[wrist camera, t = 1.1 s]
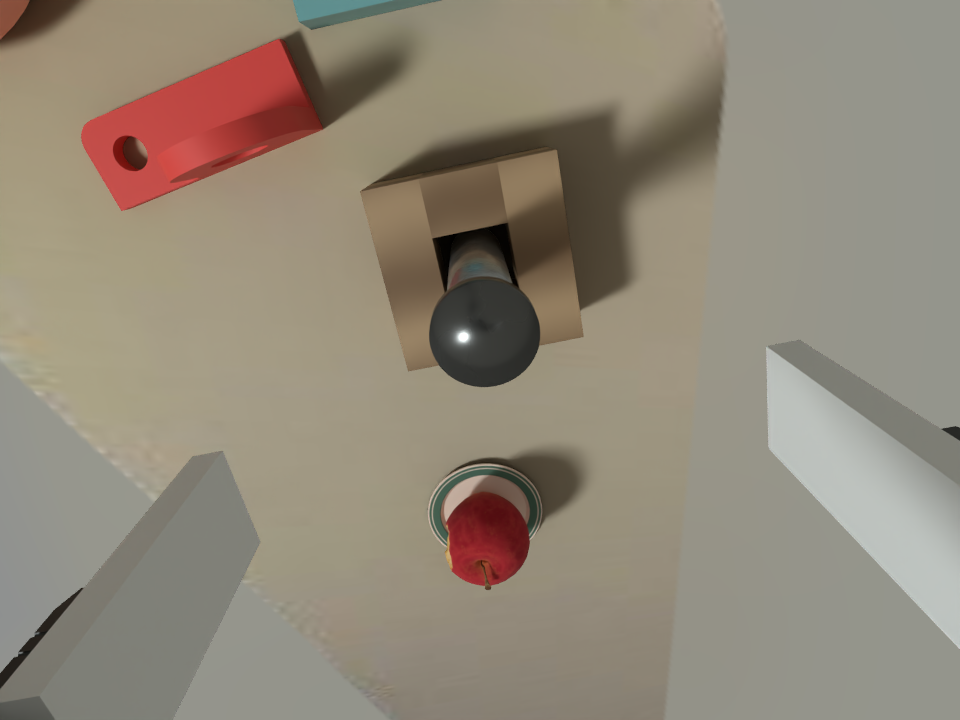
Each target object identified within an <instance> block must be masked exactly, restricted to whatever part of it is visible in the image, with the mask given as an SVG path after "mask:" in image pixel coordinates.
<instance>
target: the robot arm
mask: <svg viewBox="0 0 960 720" xmlns="http://www.w3.org/2000/svg"><path fill="white" fill-rule="evenodd" d="M766 354H767V355H766V356H767V401H768V443H769V444H768V445H769V449H770V450H771V451H772V452H773V453H774V454H775V456H776V457H777V458H778V459H779V460H780V461H781V462H782V463H783V464H784V465H785V466H786V467H787V468H788V469H789V470H790V471H791V472H792V473H793V474H794V475H795V477H796V478H797V479H798V480H799V481H801V483H802V484H803V485H804V486H805V487H806V488H807V489H808V490H809V491H810V492H811V493H812V494H813V495H814V497H815V498H816V499H817V500H818V501H819V502H820V503H821V504H822V505H823V506H824V507H825V508H826V509H827V510H828V511H829V512H830V513H831V514H832V515H833V517H834V518H835V519H836V520H837V521H838V522H839V523H840V524H841V525H842V526H843V527H844V528H845V529H846V530H847V531H848V532H849V533H850V534H851V535H852V536H853V538H854V539H855V540H856V541H857V542H858V543H859V544H860V545H861V546H862V547H863V548H864V549H865V550H866V551H867V552H868V553H869V554H870V555H871V556H872V557H873V559H874V560H875V561H876V562H877V563H878V564H879V565H880V566H881V567H882V568H883V569H884V570H885V571H886V572H887V573H888V574H889V575H890V576H891V577H892V578H893V580H894V581H895V582H896V583H897V584H898V585H899V586H900V587H901V588H902V589H903V590H904V591H905V592H906V593H907V594H908V595H909V596H910V597H911V598H912V600H913V601H914V602H915V603H916V604H917V605H918V606H919V607H920V608H921V609H922V610H923V611H924V612H925V613H926V614H927V615H928V616H929V617H930V618H931V620H932V621H933V622H935V624H936V625H937V626H938V627H939V628H940V629H941V630H942V631H943V632H944V633H945V634H946V635H947V636H948V637H949V638H950V639H951V641H952V642H953V643H954V644H955V645H956V646H957V647H958V648H959V649H960V428H959V427H956V426H955V427H949V428H944V429H940V428H939V427H937V426H935V425H934V424H932V423H931V422H929V421H927V420H926V419H924V418H923V417H921V416H920V415H918V414H916V413H915V412H913V411H912V410H910V409H908V408H907V407H905V406H903V405H902V404H900V403H899V402H897V401H896V400H894V399H893V398H891V397H889V396H888V395H886V394H884V393H883V392H881V391H880V390H878V389H877V388H875V387H874V386H872V385H870V384H869V383H867V382H866V381H864V380H862V379H861V378H859V377H857V376H856V375H854V374H853V373H851V372H850V371H848V370H847V369H845V368H843V367H842V366H840V365H839V364H837V363H835V362H834V361H832V360H831V359H829V358H828V357H826V356H824V355H823V354H821V353H820V352H818V351H816V350H815V349H813V348H812V347H810V346H809V345H807V344H805V343H804V342H802V341H801V340H797V341H791V342H786V343H781V344H775V345H770V346H766ZM259 544H260V540H259V537H258V535H257V532H256V530H255V528H254V525H253V523H252V520H251V518H250V516H249V513H248V511H247V508H246V506H245V504H244V501H243V499H242V496H241V494H240V491H239V489H238V487H237V484H236V482H235V479H234V477H233V475H232V472H231V470H230V467H229V465H228V463H227V460H226V458H225V455H224V453H223V451H219V452H214V453H209V454H204V455H199V456H193V457H192V458H191V459H190V460H189V461H188V463H187V464H186V465H185V466H184V467H183V469H182V470H181V471H180V472H179V474H178V475H177V476H176V477H175V478H174V480H173V481H172V482H171V483H170V484H169V486H168V487H167V488H166V489H165V490H164V492H163V493H162V494H161V495H160V497H159V498H158V499H157V500H156V501H155V503H154V504H153V505H152V506H151V507H150V509H149V510H148V511H147V512H146V513H145V515H144V516H143V517H142V518H141V520H140V521H139V522H138V523H137V524H136V526H135V527H134V528H133V529H132V530H131V532H130V533H129V534H128V535H127V536H126V538H125V539H124V540H123V541H122V542H121V544H120V545H119V546H118V547H117V549H116V550H115V551H114V552H113V554H112V555H111V556H110V557H109V558H108V559H107V561H106V562H105V563H104V564H103V566H102V567H101V568H100V569H99V570H98V572H97V573H96V574H95V575H94V576H93V578H92V579H91V580H90V581H89V582H88V584H87V585H86V586H85V587H84V588H81V589H80V590H78V591H77V592H76V593H75V594H73V595H72V596H71V597H70V598H68V599H67V600H66V601H65V602H63V603H62V604H61V605H60V606H59V607H57V608H56V609H55V610H54V611H53V612H52V613H51V614H50V616H49V617H48V618H47V619H46V620H45V621H44V623H43V624H42V625H41V626H40V627H39V629H38V630H37V631H36V632H35V637H32V638H30V639H29V640H28V642H27V643H26V644H25V645H24V646H23V647H22V649H21V650H20V651H19V652H18V657H14V658H13V659H12V660H11V662H10V663H9V664H8V665H7V666H6V667H5V668H4V670H3V671H2V672H1V673H0V720H173V718H174V716H175V714H176V712H177V710H178V708H179V706H180V704H181V701H182V700H183V698H184V696H185V694H186V692H187V690H188V688H189V686H190V683H191V682H192V680H193V677H194V675H195V673H196V671H197V669H198V667H199V665H200V663H201V661H202V659H203V657H204V655H205V653H206V651H207V649H208V647H209V645H210V643H211V641H212V639H213V637H214V635H215V633H216V631H217V629H218V626H219V625H220V623H221V621H222V619H223V616H224V615H225V612H226V610H227V608H228V606H229V604H230V602H231V600H232V598H233V596H234V594H235V592H236V590H237V588H238V586H239V584H240V582H241V580H242V578H243V576H244V574H245V572H246V570H247V568H248V566H249V564H250V562H251V560H252V558H253V556H254V554H255V552H256V550H257V548H258V546H259Z"/></svg>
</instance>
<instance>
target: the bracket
mask: <svg viewBox="0 0 960 720" xmlns="http://www.w3.org/2000/svg"><path fill="white" fill-rule="evenodd" d="M320 130H323V127H322V125H321V123H320V120H319V118H318V116H317V114H316V111H315V109H314V107H313V104H312V102H311V100H310V98H309V95H308V93H307V91H306V89H305V86H304V84H303V82H302V79H301V77H300V75H299V73H298V70H297V68H296V66H295V64H294V61H293V59H292V57H291V54H290V52H289V50H288V48H287V45H286V43H285V41H283V40H281V39H277V40H275V41H273V42H270V43H268V44H266V45H263V46H261V47H259V48H256V49H254V50H252V51H250V52H247V53H245V54H243V55H240V56H238V57H236V58H233V59H231V60H229V61H226V62H224V63H222V64H220V65H217V66H215V67H213V68H210V69H208V70H206V71H203V72H201V73H199V74H196V75H194V76H192V77H190V78H187V79H185V80H183V81H180V82H178V83H176V84H173V85H171V86H169V87H166V88H164V89H162V90H159V91H157V92H155V93H153V94H150V95H148V96H146V97H143V98H141V99H139V100H136V101H134V102H132V103H129V104H127V105H125V106H123V107H120V108H118V109H116V110H113V111H111V112H109V113H106V114H104V115H102V116H99V117H97V118H95V119H93V120H90V121H89V122H87V123H86V124H85V126H84V127H83V130H82V134H81V139H82V144H83V146H84V148H85V150H86V152H87V154H88V155H89V157H90V159H91V160H92V162H93V164H94V165H95V167H96V169H97V170H98V172H99V174H100V175H101V177H102V179H103V181H104V182H105V184H106V186H107V187H108V189H109V191H110V192H111V194H112V196H113V197H114V199H115V201H116V203H117V204H118V206H119V208H120V209H121V211H123V210H127V209H131V208H133V207H136V206H138V205H141V204H143V203H145V202H148V201H150V200H153V199H155V198H158V197H160V196H162V195H165V194H167V193H170V192H172V191H175V190H177V189H179V188H182V187H184V186H187V185H189V184H192V183H194V182H196V181H199V180H201V179H204V178H206V177H209V176H211V175H213V174H216V173H218V172H221V171H223V170H226V169H228V168H230V167H233V166H235V165H238V164H240V163H243V162H245V161H247V160H250V159H252V158H255V157H257V156H260V155H262V154H264V153H267V152H269V151H272V150H274V149H277V148H279V147H281V146H284V145H286V144H289V143H291V142H294V141H296V140H298V139H301V138H303V137H306V136H308V135H311V134H313V133H315V132H318V131H320ZM130 136H133V137H135V138H137V139H138V140H140V141H141V142H142V143H143V144H144V146H145V148H146V150H147V153H148V161H147V164H146V166H145V167H144V168H143V169H141V170H139V169H136V168H134V167H133V166H131V165H130V164H129V163H128V162H127V160H126V159H125V157H124V154H123V144H124V142H125V140H126V139H127V138H128V137H130Z"/></svg>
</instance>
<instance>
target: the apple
mask: <svg viewBox="0 0 960 720" xmlns="http://www.w3.org/2000/svg"><path fill="white" fill-rule="evenodd" d="M541 518H542V503H541V499H540V496H539V493H538V491H537V489H536V488H535V486H534V485H533V484H532V482H531V481H530V480H529V479H528V478H527V477H525V476H524V475H523V474H521V473H520V472H518V471H516V470H514V469H512V468H510V467H507V466H503V465H499V464H491V463H481V464H474V465H469V466H466V467H463V468H460V469H458V470H456V471H454V472H453V473H451V474H450V475H448V476H447V477H446V478H444V479H443V480H442V481H441V482H440V483H439V485H438V486H437V487H436V489H435V490H434V492H433V494H432V496H431V499H430V502H429V507H428V519H429V524H430V527H431V529H432V531H433V533H434V535H435V536H436V538H437V539H438V540H439V541H440V542H441V543H442V544H443V545H444V546H445V547H446V548H447V550H446V551H445V554H446V558H447V561H448V563H449V565H450V569H451V570H452V572H453V573H455V574H456V575H457V576H458V577H460V578H461V579H463V580H465V581H467V582H470V583H472V584H476V585H482V586H485V589H486V590H490V589H491V585H494V584H499V583H501V582H503V581H505V580H507V579H508V578H510V577H511V576H513V575H514V574H515V573H516V572H517V571H518V570H519V569H520V568H521V567H522V565H523V563H524V561H525V559H526V557H527V554H528V550H529V545H530V540H531V539H532V537H533V536H534V535H535V533H536V532H537V530H538V528H539V525H540V523H541Z"/></svg>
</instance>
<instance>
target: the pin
mask: <svg viewBox="0 0 960 720" xmlns="http://www.w3.org/2000/svg"><path fill="white" fill-rule="evenodd" d="M429 342H430V347H431V350H432V353H433V356H434V358H435V360H436V361H437V363H438V364H439V366H440V367H441V368H442V369H443V370H444V371H445V372H446V373H447V374H448V375H449V376H451V377H452V378H454V379H455V380H457V381H459V382H462V383H464V384H467V385H471V386H477V387H491V386H497V385H501V384H504V383H506V382H509V381H511V380H513V379H514V378H516V377H517V376H519V375H520V374H521V373H522V372H524V371H525V370H526V369H527V367H528V366H529V365H530V364H531V362H532V361H533V359H534V357H535V355H536V353H537V350H538V347H539V343H540V324H539V320H538V317H537V315H536V312H535V309H534V307H533V305H532V303H531V301H530V300H529V298H528V297H527V296H526V294H525V293H524V292H523V291H522V290H521V289H519V288H518V287H517V286H515V285H514V284H512V281H511V278H510V274H509V271H508V268H507V265H506V262H505V258H504V255H503V252H502V249H501V246H500V243H499V241H498V239H497V237H496V236H495V235H494V234H493V233H492V232H491V231H489V230H487V229H485V228H479V229H475V230H470V231H465V232H460V233H459V234H458V235H457V236H456V237H455V239H454V240H453V243H452V246H451V252H450V263H449V274H448V285H447V291H446V292H445V293H444V294H443V295H442V297H441V298H440V299H439V300H438V302H437V304H436V306H435V308H434V310H433V313H432V317H431V322H430V329H429Z"/></svg>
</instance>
